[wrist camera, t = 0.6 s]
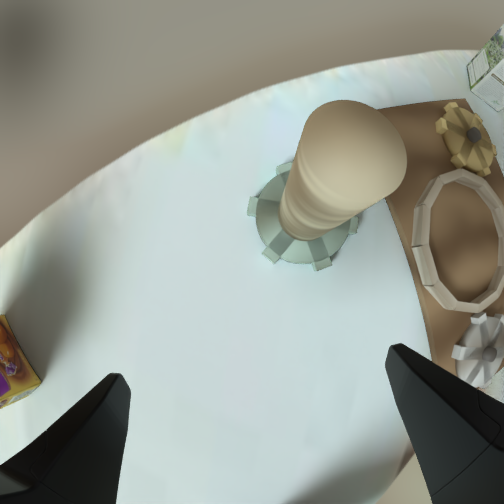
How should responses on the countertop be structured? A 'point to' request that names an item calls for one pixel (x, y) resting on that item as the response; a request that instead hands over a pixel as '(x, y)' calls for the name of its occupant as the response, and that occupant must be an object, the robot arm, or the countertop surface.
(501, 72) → the syrup box
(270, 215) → the gear
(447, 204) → the gear board
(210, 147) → the countertop surface
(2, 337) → the candy box
